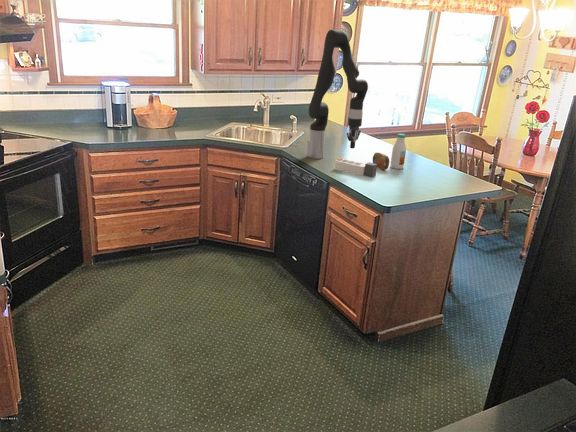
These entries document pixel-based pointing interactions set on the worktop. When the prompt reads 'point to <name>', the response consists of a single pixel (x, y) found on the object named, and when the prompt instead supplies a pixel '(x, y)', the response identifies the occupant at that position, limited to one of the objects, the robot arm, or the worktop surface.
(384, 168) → the tin
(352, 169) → the power strip
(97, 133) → the worktop surface
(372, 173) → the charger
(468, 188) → the worktop surface
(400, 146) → the milk bottle
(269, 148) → the worktop surface
